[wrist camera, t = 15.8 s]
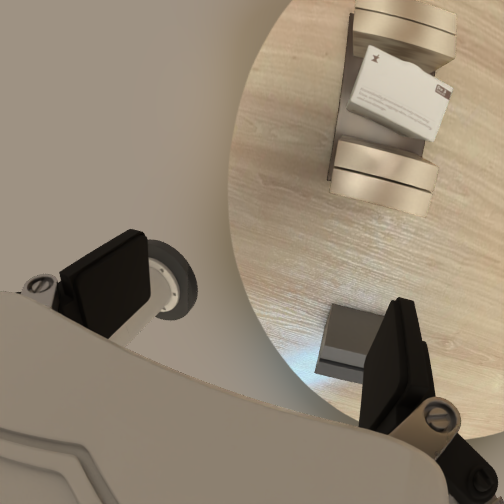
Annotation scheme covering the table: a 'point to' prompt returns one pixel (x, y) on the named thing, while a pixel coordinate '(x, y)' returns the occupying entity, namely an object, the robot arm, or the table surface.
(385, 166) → the wooden bookend stand
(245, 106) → the table surface
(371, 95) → the cosmetic box
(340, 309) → the grey box
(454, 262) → the table surface
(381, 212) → the table surface
